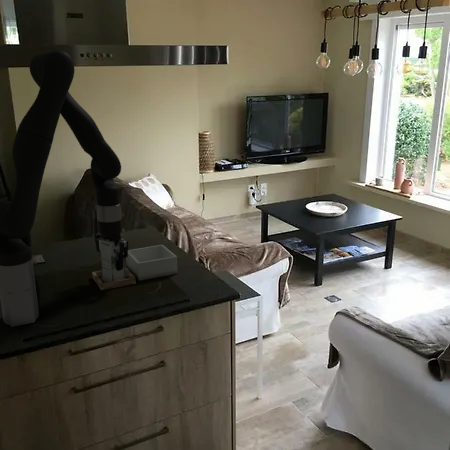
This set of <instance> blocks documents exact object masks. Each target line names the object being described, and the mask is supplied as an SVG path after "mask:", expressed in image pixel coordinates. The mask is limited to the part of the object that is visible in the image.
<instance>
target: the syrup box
mask: <svg viewBox="0 0 450 450" xmlns="http://www.w3.org/2000/svg"><path fill="white" fill-rule="evenodd" d="M108 240H109V239H105V240H104V239H103V238H102V239H99V251H100V252H99V264H100V266H99V267H100V271H101V277H100V280H101V281H102V283H105V282H110V281H116V280H121V279H127V278H126V277H127V276H126V274H125V267H126V258H124V259H123V269H122V270H120V271H117V270H116V258H115V253H114V252H113V249H115V250H118V249H120V247H119V242H118V244H117V246H115V244H114V242H113V241H108ZM122 240H124V241H125V239H124V238H122ZM117 253H118V256H119V252H117ZM123 254H124V253H123Z"/></svg>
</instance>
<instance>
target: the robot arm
mask: <svg viewBox="0 0 450 450" xmlns="http://www.w3.org/2000/svg"><path fill="white" fill-rule="evenodd" d="M29 72H30V75H31V77H32V80H33V81H34V82H35V84H36V85H37V87H39V90H38V93H37V95H36V98H35V99H34V101H33V103H32V104H31V107H30V108H29V109H28V111H26V114H25V115H24V116H23V118H22V119H21V121H20V123H19V124H18V127H17V130H16V134H15V137H14V140H13V144H12V148H11V150H12V151H11V156H12V157H11V158H12V162H13V167H14V171H15V188H14V192H13V196H12V199H11V201H8V200H1V199H0V306H1V311H2V320H3V323H4V324H5V325H9V326H10V327H11V328H13V327H18V326H23V325H24V326H25V325H29V324H32V323H35V322H36V320H37V319H39V317H40V313H39V303H38V297H37V290H36V289H37V287H36V279H35V272H34V263H33V255H32V253H33V252H32V249H31V248H30V247H29V245H28V244H26V242H24V240H23V239H24V238H25V237H27V236H28V235H29V234H30V233H31V232H32V229H33V226H34V223H35V220H36V215H37V211H38V210H37V208H38V203H39V197H40V192H41V186H42V183H43V177H44V173H45V169H46V166H47V162H48V159H49V155H50V152H51V148H52V146H53V142H54V137H55V133H56V130H57V127H58V124H59V123H58V122H59V119H60V116H61V117H62V118H63V119H64V121H65V122H66V123H67V125H68V127H69V129H70V130H71V132H72V133H73V135H74V137H75V139H76V141H77V142H78V143H79V145H80V147H81V148H82V149H83V152H85V153H86V154H88V155H89V156H90V157H91V160H90V174H91V178H92V180H93V181H92V182H93V185H94V188H95V191H96V192H95V193H96V194H95V195H96V196H95V197H96V219H97V223H96V224H97V232H98V233H95V234H94V235H93V238H94V242H95V248H96V252H97V253H100V251H99V239H102V238H103V239H104V240H105V239H109V240H108V241H113V242H114V244H115V246H117V244H118V242H119V247H120V249H118V250H115V249H113V252H114V253H115V258H116V270H117V271H120V270H122V269H123V259H124V258H125V259H126V258H127V257H128V250H129V240H128V239H124V240H122V239H123V238H122V236H121V234H122V232H123V219H122V216H123V215H122V208H121V207H122V206H121V200H120V199H121V198H120V189H119V186H118V185H117V184H116V183H115V181H114V179H116V178H117V177H118V176H120V174H121V171H122V164H121V161H120V159H119V157H118V155H117V153H115V151H114V150H113V149H112V147H111V146H110V145H109V144H108V142H107V141H106V140H105V139H104V136H103V134H102V132H101V130H100V129H99V127H98V125H97V123H96V122H95V120H94V119H93V117H92V116H91V115H90V114H89V113H88V112H87V111H86V110H85V109H84V108H83V107H82V106H81V105H80V104H79V103H78V102H77V100H76V99H75V98H74V97H73V96H72V94H71V93H70V92H69V90H70V88H71V85H72V82H73V79H74V78H75V63H74V61H73V59H72V57H71V55H70V54H69V53H67V52H65V51H64V50H51V51H45V52H41V53H39V54H36V55H34V56H33V57H32V59H30V63H29ZM117 252H119V256H118V253H117ZM123 253H124V254H123Z"/></svg>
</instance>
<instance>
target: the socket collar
mask: <svg viewBox="0 0 450 450" xmlns="http://www.w3.org/2000/svg"><path fill="white" fill-rule="evenodd" d="M125 274H126V277H127V278H126V279H121V280H116V281H110V282H103V281H102V280H101V270H97V271H92V273H91V275H92V279H93V280H94V282H95V283H96V285H97V287H98V288H99V289H100V291H105V290H111V289H116V288H120V287H125V285H126V286H130V284H131V285H135V284H136V283H137V281H136V280H137V278H136V277H135V276H134V275H133V274H132V272H131V271H130V270H129V269H128V268H127V266H125Z"/></svg>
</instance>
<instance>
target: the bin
mask: <svg viewBox="0 0 450 450" xmlns="http://www.w3.org/2000/svg"><path fill="white" fill-rule="evenodd" d="M125 267H126V268H127V269H128V270H129V271H130V272H131V273H132V274H133V276H134V277H135V278H136V280H137V281H144V280H149V279H154V278H160V277H161V278H162V277H165V276H170V275H176V274H177V275H178V272H179V271H178V270H179V269H178V256H177V255H176V254H175V253H173V252H172V251H171V250H170V249H168V247H167V246H165V245H164V244H158V245H157V244H156V245H152V246H151V245H150V246H147V247H141V248H133V249H132V248H131V249H128V257H127V258H125Z"/></svg>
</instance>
